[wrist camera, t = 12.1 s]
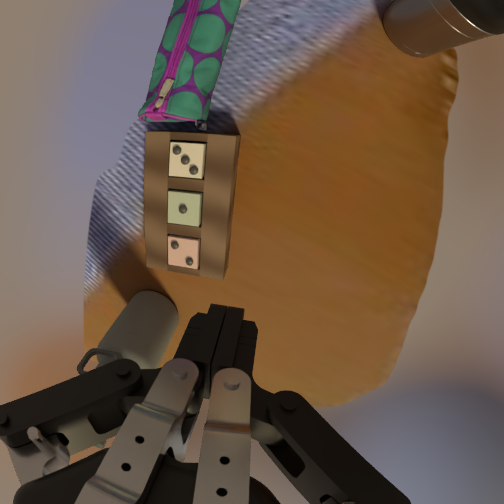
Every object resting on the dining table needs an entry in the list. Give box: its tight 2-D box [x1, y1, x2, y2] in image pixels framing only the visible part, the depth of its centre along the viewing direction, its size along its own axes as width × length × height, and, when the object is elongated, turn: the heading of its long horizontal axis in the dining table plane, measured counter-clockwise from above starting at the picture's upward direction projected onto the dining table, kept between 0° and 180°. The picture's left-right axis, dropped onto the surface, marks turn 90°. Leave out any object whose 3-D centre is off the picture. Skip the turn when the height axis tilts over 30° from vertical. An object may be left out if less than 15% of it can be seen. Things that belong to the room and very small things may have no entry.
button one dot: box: [168, 189, 203, 227], centre depth 38 cm, size 4×4×3 cm
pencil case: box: [138, 0, 241, 131], centre depth 27 cm, size 21×9×10 cm, turn 166°
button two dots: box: [168, 234, 201, 269], centre depth 41 cm, size 4×4×3 cm
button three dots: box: [169, 141, 207, 179], centre depth 35 cm, size 4×4×3 cm
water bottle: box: [77, 291, 179, 448], centre depth 38 cm, size 10×10×28 cm
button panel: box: [144, 130, 241, 280], centre depth 39 cm, size 20×12×4 cm, turn 173°
